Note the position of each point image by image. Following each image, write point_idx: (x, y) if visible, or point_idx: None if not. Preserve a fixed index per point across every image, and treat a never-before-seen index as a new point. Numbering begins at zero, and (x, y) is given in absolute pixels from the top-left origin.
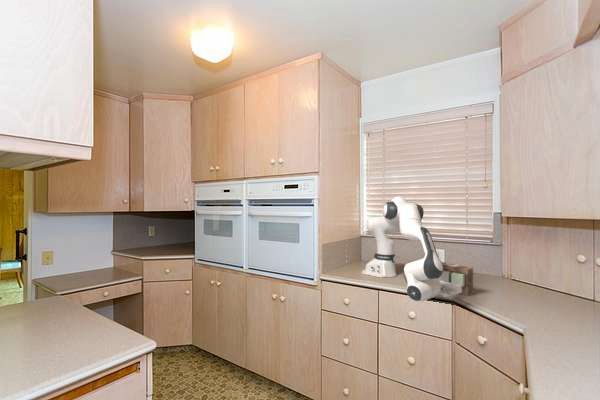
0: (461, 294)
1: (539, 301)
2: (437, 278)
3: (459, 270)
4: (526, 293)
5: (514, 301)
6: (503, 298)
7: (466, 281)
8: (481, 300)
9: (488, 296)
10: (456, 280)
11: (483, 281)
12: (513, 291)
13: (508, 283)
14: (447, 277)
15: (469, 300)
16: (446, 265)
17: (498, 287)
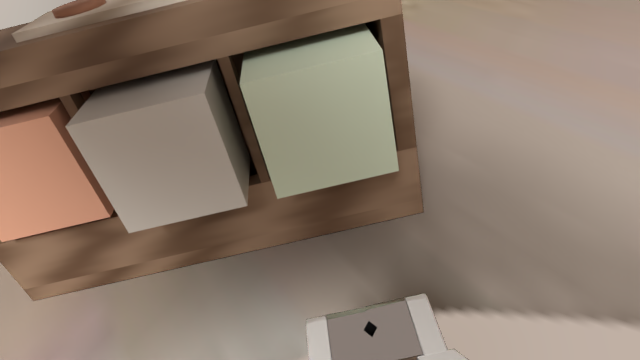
0: (369, 223)
1: (630, 20)
2: (106, 198)
3: (301, 11)
4: (495, 14)
5: (619, 78)
6: (546, 90)
7: (398, 98)
8: (563, 200)
9: (483, 123)
10: (323, 139)
11: None
12: (451, 30)
13: None
14: (215, 153)
15: (543, 279)
16: (130, 17)
17: None
